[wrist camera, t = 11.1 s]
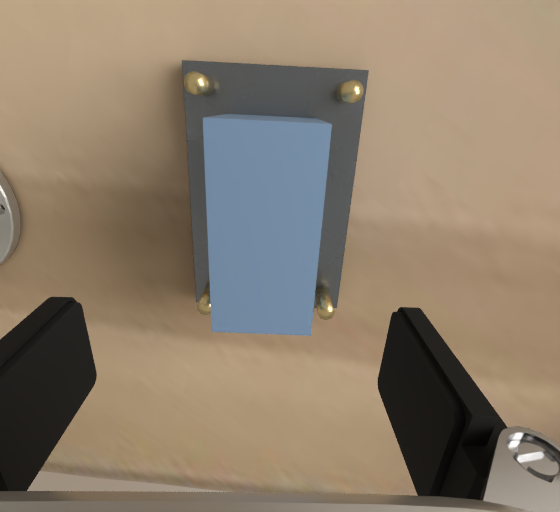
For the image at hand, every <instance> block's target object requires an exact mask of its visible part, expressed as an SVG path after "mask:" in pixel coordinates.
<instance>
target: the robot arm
mask: <svg viewBox="0 0 560 512" xmlns="http://www.w3.org/2000/svg"><path fill="white" fill-rule="evenodd" d="M20 231H21V226H20V213H19V209H18V204H17V201H16V198H15V196H14V194H13V191H12V189H11V187H10V185H9V183H8V182H7V180H6V178H5V177H4V175H3V174H2V172H1V171H0V265H1V264H3V263H4V262H5V261H6V260H7V259H8V258H9V257H10V256H11V255H12V254H13V252H14V250H15V248H16V246H17V244H18V240H19V236H20ZM95 381H96V369H95V364H94V359H93V355H92V350H91V346H90V341H89V336H88V332H87V327H86V323H85V318H84V313H83V309H82V305H81V304H80V303H78V302H76V300H75V299H74V298H72V297H50V298H48V299H47V300H46V301H45V302H44V303H42V304H41V305H40V306H39V307H38V308H37V309H35V310H34V311H33V312H32V313H31V314H30V315H28V316H27V317H26V318H25V319H24V320H23V321H21V322H20V323H19V324H18V325H17V326H16V327H14V328H13V329H12V330H11V331H10V332H9V333H7V334H6V335H5V336H4V337H3V338H2V339H0V512H560V445H559V444H557V443H556V442H555V441H554V440H552V439H550V438H548V437H547V436H545V435H543V434H541V433H539V432H537V431H534V430H531V429H529V428H523V427H507V426H506V425H505V423H504V422H503V421H502V419H501V418H500V417H499V415H498V414H497V412H496V411H495V410H494V408H493V407H492V406H491V404H490V403H489V401H488V400H487V399H486V397H485V396H484V395H483V393H482V392H481V391H480V389H479V388H478V386H477V385H476V384H475V382H474V381H473V380H472V378H471V377H470V375H469V374H468V373H467V371H466V370H465V369H464V367H463V366H462V365H461V363H460V362H459V360H458V359H457V358H456V356H455V355H454V354H453V352H452V351H451V350H450V348H449V347H448V346H447V344H446V343H445V341H444V340H443V339H442V337H441V336H440V335H439V333H438V332H437V331H436V329H435V328H434V326H433V325H432V324H431V322H430V321H429V320H428V318H427V317H426V315H425V314H424V313H423V311H422V310H421V309H420V308H408V307H400V308H399V309H398V311H397V312H393V313H392V316H391V320H390V325H389V329H388V334H387V339H386V344H385V348H384V353H383V358H382V362H381V367H380V372H379V377H378V389H379V393H380V395H381V398H382V401H383V404H384V406H385V409H386V412H387V414H388V417H389V420H390V422H391V425H392V428H393V430H394V433H395V436H396V438H397V441H398V444H399V446H400V449H401V452H402V454H403V457H404V460H405V462H406V465H407V468H408V471H409V473H410V476H411V479H412V481H413V484H414V487H415V489H416V492H417V495H418V496H408V495H378V494H319V493H246V492H131V491H130V492H129V491H124V492H123V491H118V492H117V491H27V489H28V488H29V486H30V485H31V483H32V482H33V480H34V479H35V477H36V475H37V474H38V472H39V471H40V469H41V468H42V466H43V465H44V463H45V461H46V460H47V458H48V457H49V455H50V454H51V452H52V450H53V449H54V447H55V446H56V444H57V443H58V441H59V439H60V438H61V436H62V435H63V433H64V432H65V430H66V428H67V427H68V425H69V424H70V422H71V421H72V419H73V418H74V416H75V414H76V413H77V411H78V410H79V408H80V407H81V405H82V403H83V402H84V400H85V399H86V397H87V396H88V394H89V392H90V391H91V389H92V388H93V386H94V384H95Z"/></svg>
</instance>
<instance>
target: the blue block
mask: <svg viewBox="0 0 560 512" xmlns="http://www.w3.org/2000/svg"><path fill="white" fill-rule="evenodd" d="M331 130H332V124H331V123H328V122H325V121H322V120H320V119H317V118H302V117H282V116H262V115H242V114H223V115H216V116H210V117H203V137H204V161H205V185H206V208H207V232H208V256H209V280H210V303H211V327H212V332H232V333H257V334H282V335H307V336H311V329H312V319H313V309H314V299H315V289H316V279H317V269H318V259H319V249H320V239H321V229H322V219H323V209H324V199H325V189H326V179H327V169H328V160H329V150H330V140H331Z"/></svg>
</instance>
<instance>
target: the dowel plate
mask: <svg viewBox="0 0 560 512" xmlns="http://www.w3.org/2000/svg"><path fill="white" fill-rule="evenodd" d="M182 68H183V85H184V102H185V119H186V135H187V152H188V169H189V186H190V203H191V219H192V236H193V253H194V270H195V287H196V302H199V303H198V305H197V309H198V311H199V312H200V313H201V314H204V315H207V314H210V313H211V303H210V280H209V256H208V232H207V208H206V185H205V161H204V137H203V117H210V116H216V115H223V114H242V115H262V116H282V117H302V118H317V119H320V120H322V121H325V122H328V123H331V124H332V130H331V140H330V150H329V160H328V169H327V179H326V189H325V199H324V209H323V219H322V229H321V239H320V249H319V259H318V269H317V279H316V289H315V299H314V307H317V309H318V314H319V317H320V318H322V319H324V320H328V319H330V318H332V317H333V315H334V309H333V308H337V302H338V294H339V287H340V280H341V272H342V265H343V257H344V250H345V242H346V235H347V227H348V220H349V213H350V205H351V198H352V190H353V183H354V175H355V168H356V161H357V153H358V146H359V138H360V131H361V123H362V116H363V109H364V101H365V94H366V86H367V79H368V71H369V70H352V69H334V68H315V67H297V66H278V65H260V64H241V63H223V62H204V61H186V60H182Z"/></svg>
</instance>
